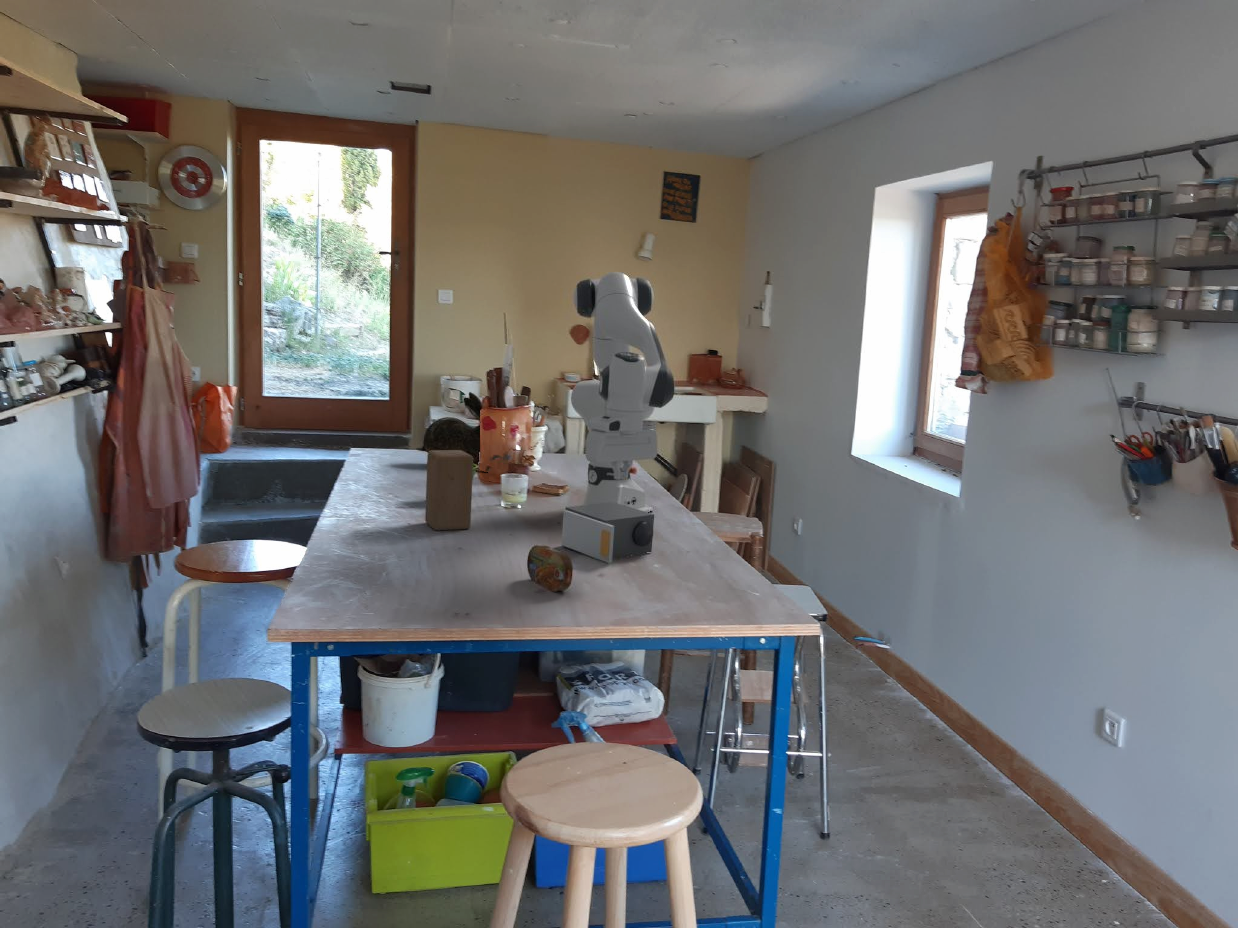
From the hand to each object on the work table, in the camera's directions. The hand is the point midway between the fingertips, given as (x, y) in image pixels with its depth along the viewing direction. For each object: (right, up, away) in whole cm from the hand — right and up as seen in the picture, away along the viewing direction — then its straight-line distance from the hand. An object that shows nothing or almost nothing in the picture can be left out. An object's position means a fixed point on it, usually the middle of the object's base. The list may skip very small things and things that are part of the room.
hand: (620, 479), depth 227 cm
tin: (-16, -23, -19) cm, 34 cm away
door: (-9, -18, +7) cm, 22 cm away
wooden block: (-46, -13, +27) cm, 55 cm away
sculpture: (-57, +2, +112) cm, 126 cm away
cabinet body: (-3, -18, +15) cm, 24 cm away
